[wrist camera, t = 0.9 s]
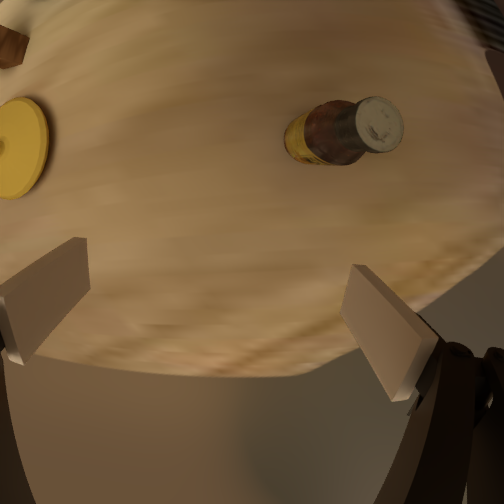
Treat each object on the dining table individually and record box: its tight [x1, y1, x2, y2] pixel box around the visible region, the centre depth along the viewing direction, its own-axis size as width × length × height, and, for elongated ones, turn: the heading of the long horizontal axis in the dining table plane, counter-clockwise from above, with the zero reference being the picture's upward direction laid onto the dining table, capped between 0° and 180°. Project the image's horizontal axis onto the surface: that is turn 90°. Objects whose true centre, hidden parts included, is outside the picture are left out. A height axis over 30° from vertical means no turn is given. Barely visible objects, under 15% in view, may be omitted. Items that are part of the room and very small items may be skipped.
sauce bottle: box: [284, 97, 404, 166], centre depth 27 cm, size 6×6×20 cm
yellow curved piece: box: [0, 97, 49, 200], centre depth 30 cm, size 16×16×7 cm
